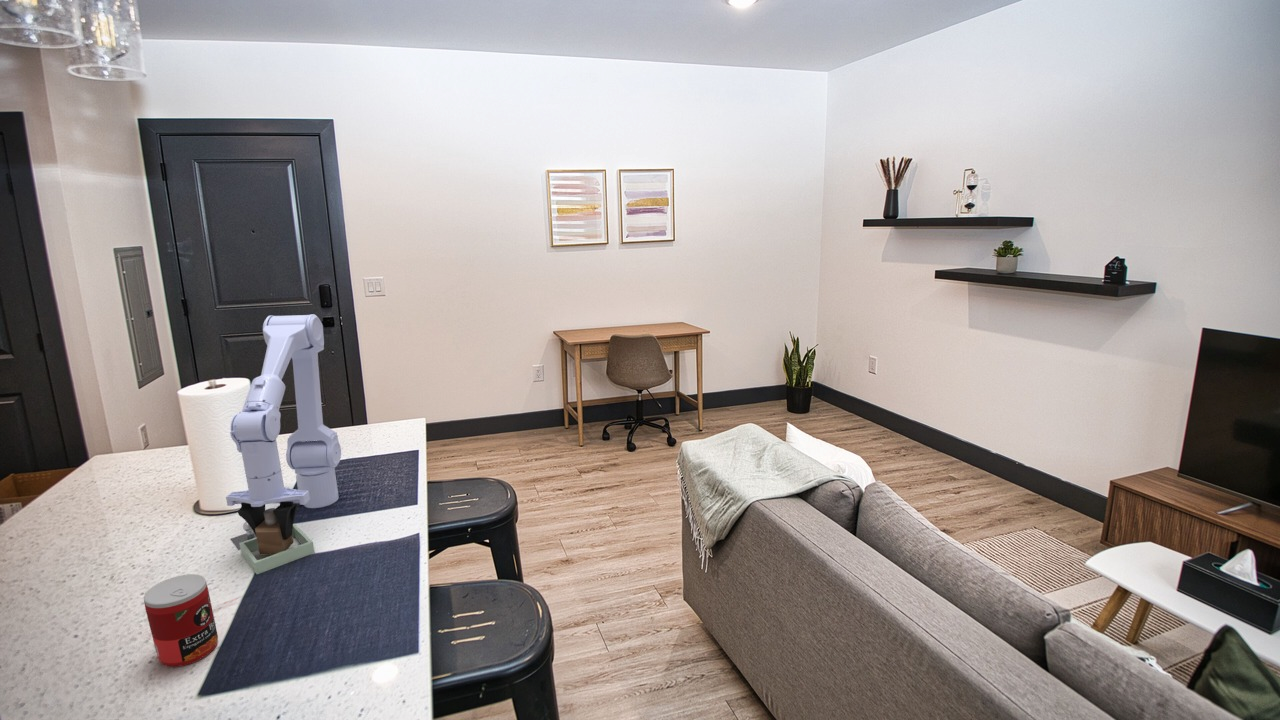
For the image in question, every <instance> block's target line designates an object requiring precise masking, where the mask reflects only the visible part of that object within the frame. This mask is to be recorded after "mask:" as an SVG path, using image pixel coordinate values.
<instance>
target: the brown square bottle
mask: <svg viewBox="0 0 1280 720" xmlns="http://www.w3.org/2000/svg"><path fill="white" fill-rule="evenodd" d="M276 508H277V507H276ZM276 508H275V507H271V508H268V509H265V511H264V517H265V520H264V521H263V522H262V523H261V524H260V525H258V526H257V527H256V528H255V531H256V537H257V542H258V548H259V549H258V554H259V555H260V556H261V555H263V556H264V555H274V554H277V553H280V552H282V551H285V550H288V549H290V548H291V546H292V544H293V543H294V539H293V538H294V537H292V535H291V536H290V537H289V538H288V539H287V540H283V538H282V535H281V529H280V525H279V522H278V519H277V517H276V516H275V514H274V512H273V510H275V509H276ZM289 547H290V548H289Z"/></svg>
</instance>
